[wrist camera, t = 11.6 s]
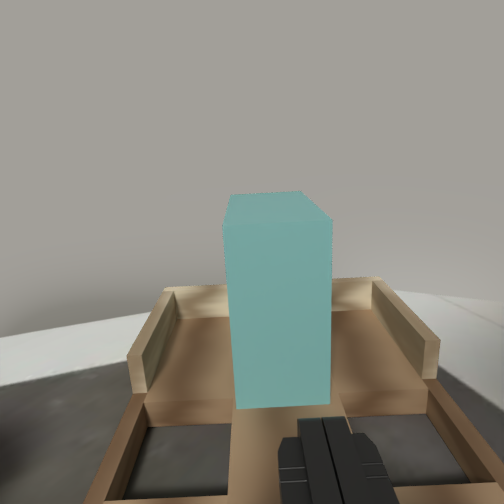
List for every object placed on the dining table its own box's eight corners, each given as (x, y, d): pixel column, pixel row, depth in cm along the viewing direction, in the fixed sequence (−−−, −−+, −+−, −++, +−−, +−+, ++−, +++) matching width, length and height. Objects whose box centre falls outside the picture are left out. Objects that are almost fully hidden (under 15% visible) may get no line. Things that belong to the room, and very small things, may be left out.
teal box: (302, 317, 35) (300, 191, 31) (330, 404, 23) (332, 219, 20) (239, 321, 35) (230, 194, 31) (236, 409, 23) (222, 225, 20)
